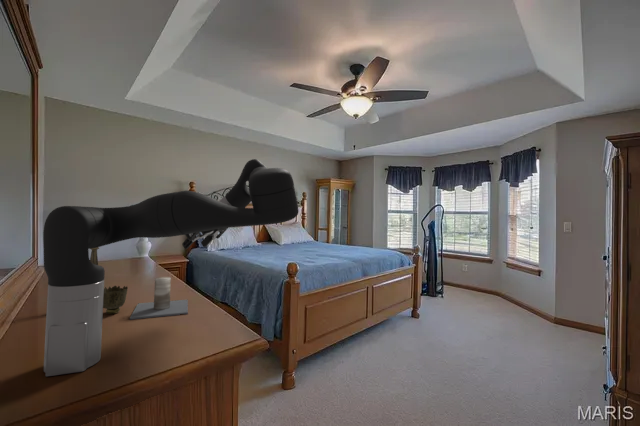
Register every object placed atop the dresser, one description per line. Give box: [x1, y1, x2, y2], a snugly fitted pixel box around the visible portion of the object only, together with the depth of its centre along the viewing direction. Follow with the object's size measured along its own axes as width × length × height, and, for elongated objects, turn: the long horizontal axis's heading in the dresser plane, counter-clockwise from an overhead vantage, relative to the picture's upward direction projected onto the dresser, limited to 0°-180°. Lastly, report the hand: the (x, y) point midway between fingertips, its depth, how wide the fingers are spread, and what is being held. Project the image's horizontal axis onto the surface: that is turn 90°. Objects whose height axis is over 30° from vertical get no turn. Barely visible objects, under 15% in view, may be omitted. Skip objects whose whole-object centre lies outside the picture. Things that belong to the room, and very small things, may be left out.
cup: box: [103, 285, 128, 315], centre depth 95 cm, size 8×7×8 cm
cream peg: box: [153, 276, 172, 310], centre depth 99 cm, size 5×5×10 cm
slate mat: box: [129, 299, 189, 321], centre depth 100 cm, size 16×16×1 cm
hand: (194, 245), depth 97 cm, fingers open, 8 cm apart
